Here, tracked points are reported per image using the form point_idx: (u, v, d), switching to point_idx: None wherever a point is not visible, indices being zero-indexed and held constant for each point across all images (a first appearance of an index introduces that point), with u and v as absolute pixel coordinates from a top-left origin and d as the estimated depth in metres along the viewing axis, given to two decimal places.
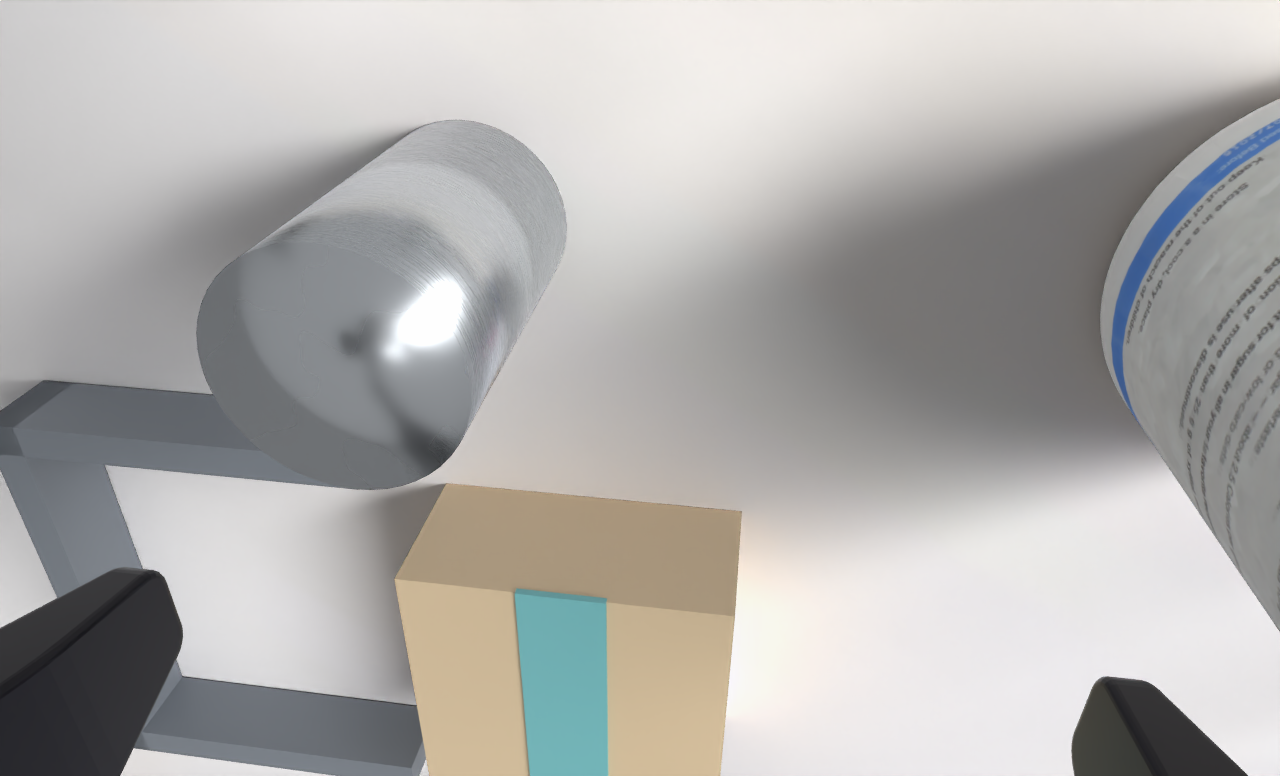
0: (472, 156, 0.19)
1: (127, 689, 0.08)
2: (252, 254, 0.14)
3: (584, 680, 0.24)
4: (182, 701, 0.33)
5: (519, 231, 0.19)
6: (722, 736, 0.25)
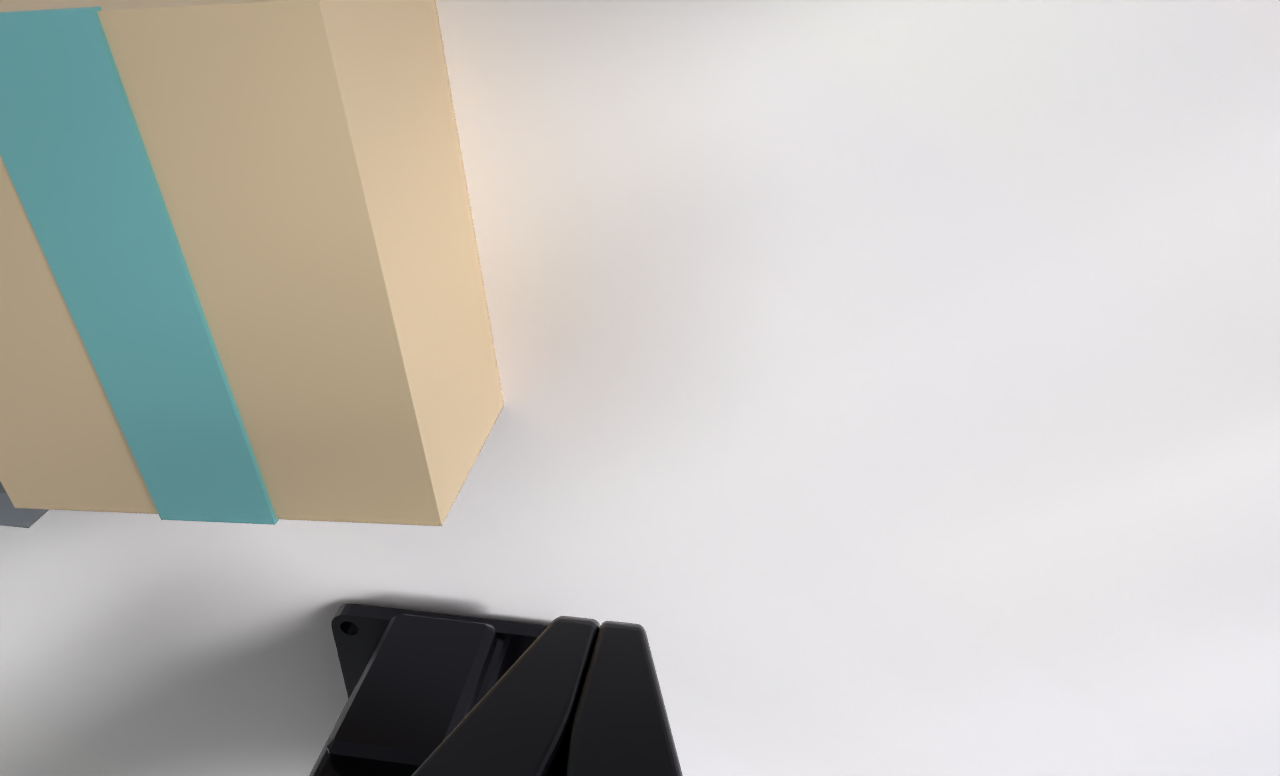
0: None
1: None
2: None
3: (128, 216, 0.14)
4: None
5: None
6: (390, 315, 0.14)
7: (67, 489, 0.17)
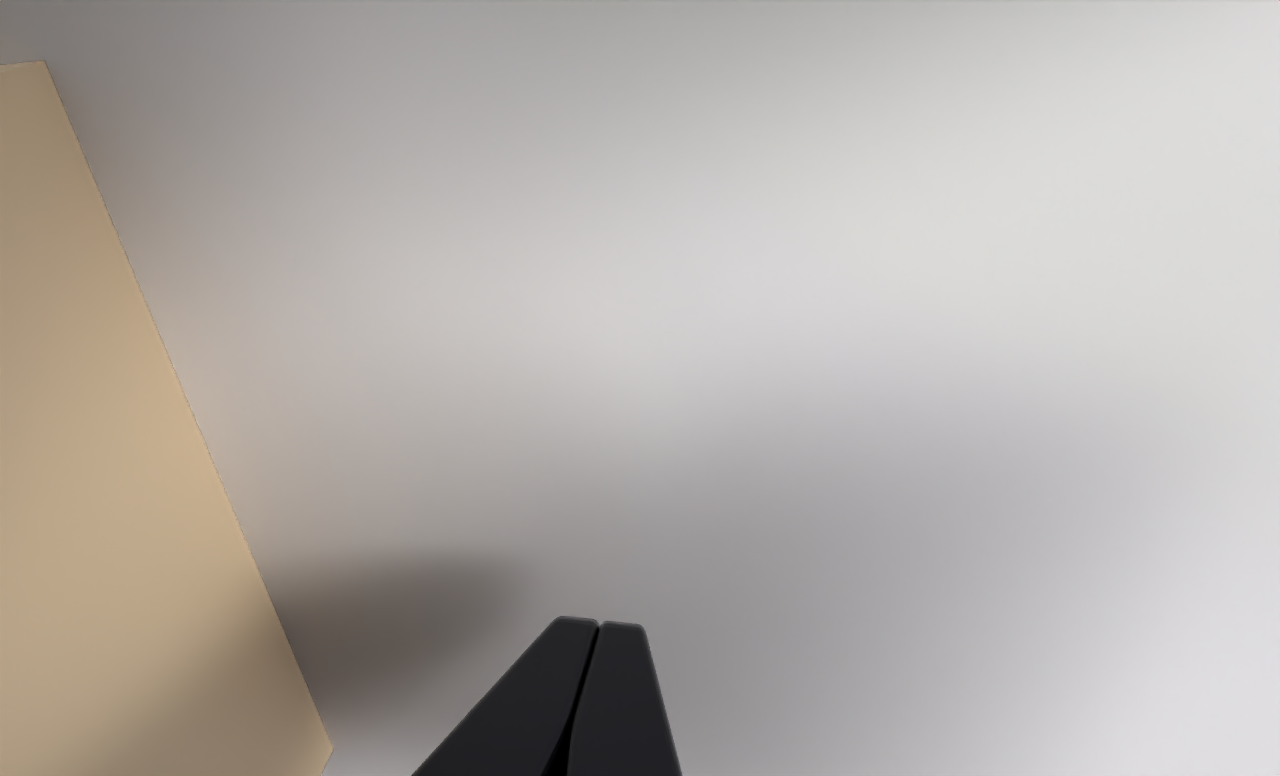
0: None
1: None
2: None
3: None
4: None
5: None
6: None
7: None
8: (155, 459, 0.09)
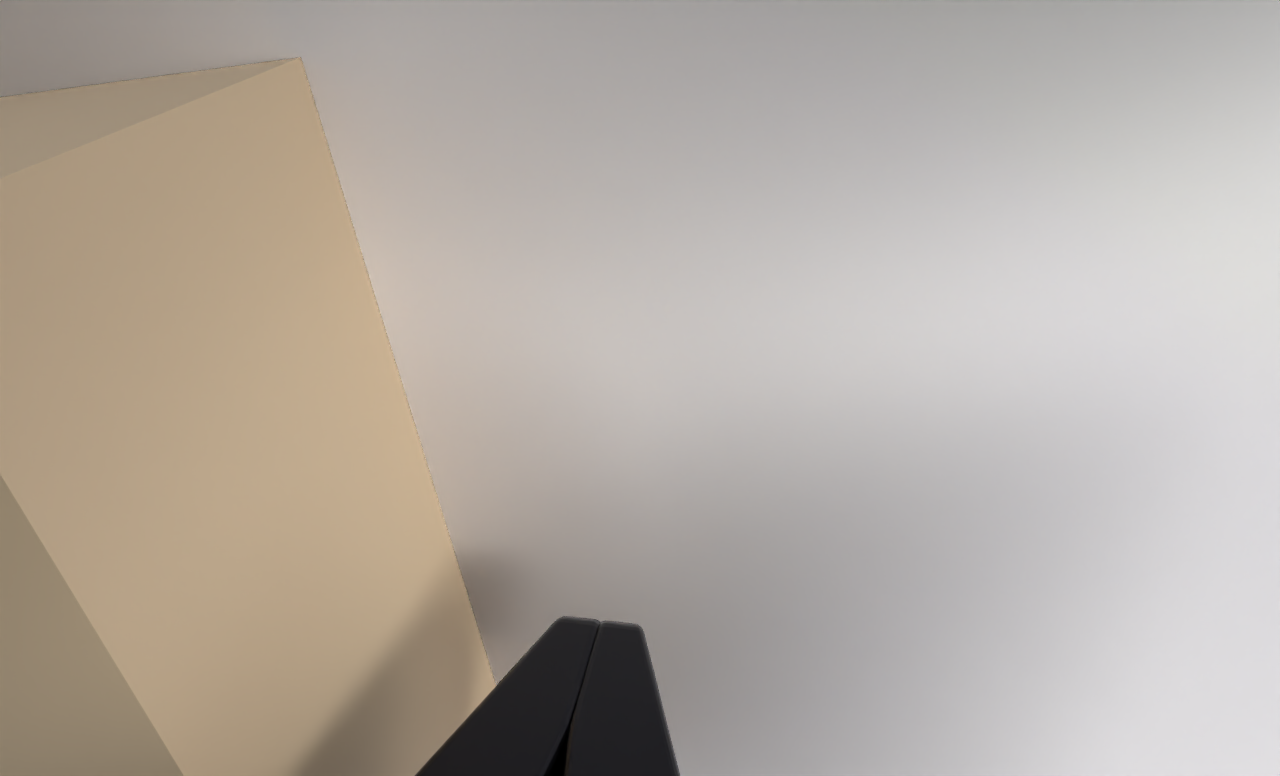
0: None
1: None
2: None
3: None
4: None
5: None
6: None
7: None
8: (395, 461, 0.09)
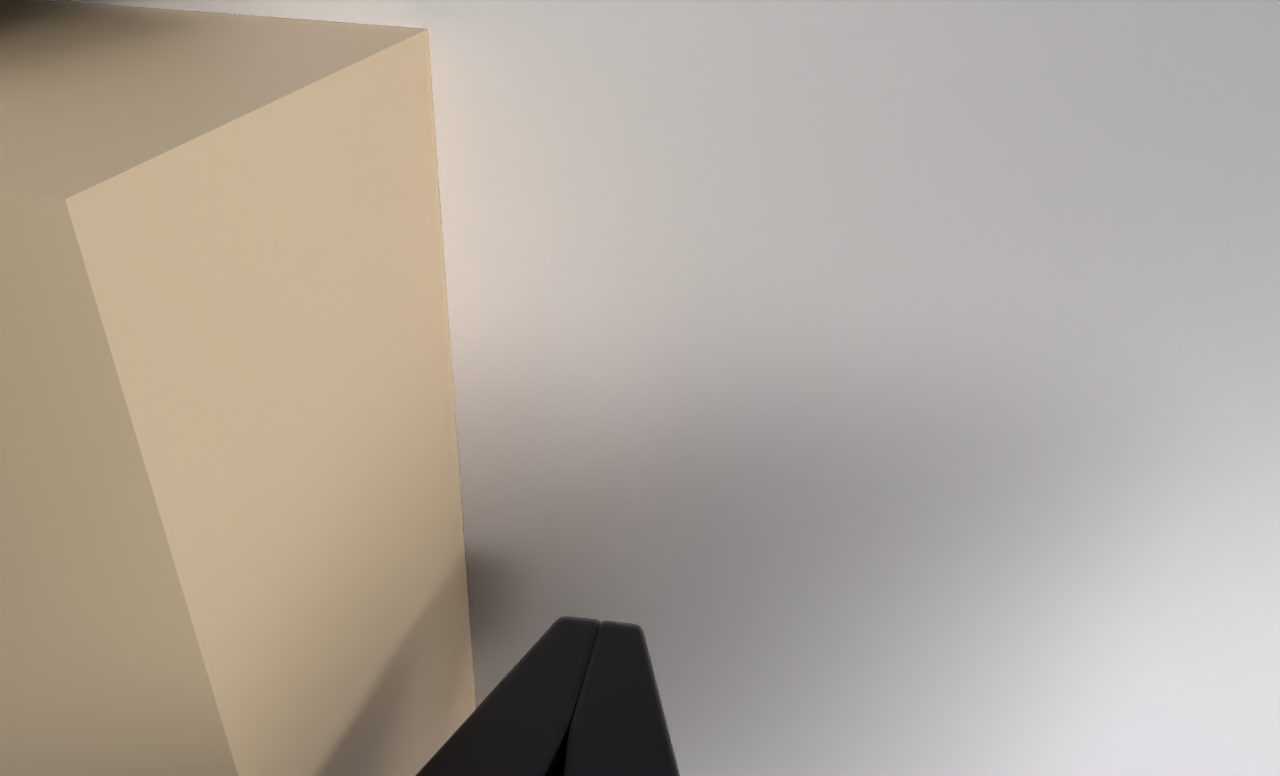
0: None
1: None
2: None
3: None
4: None
5: None
6: None
7: None
8: (432, 450, 0.08)
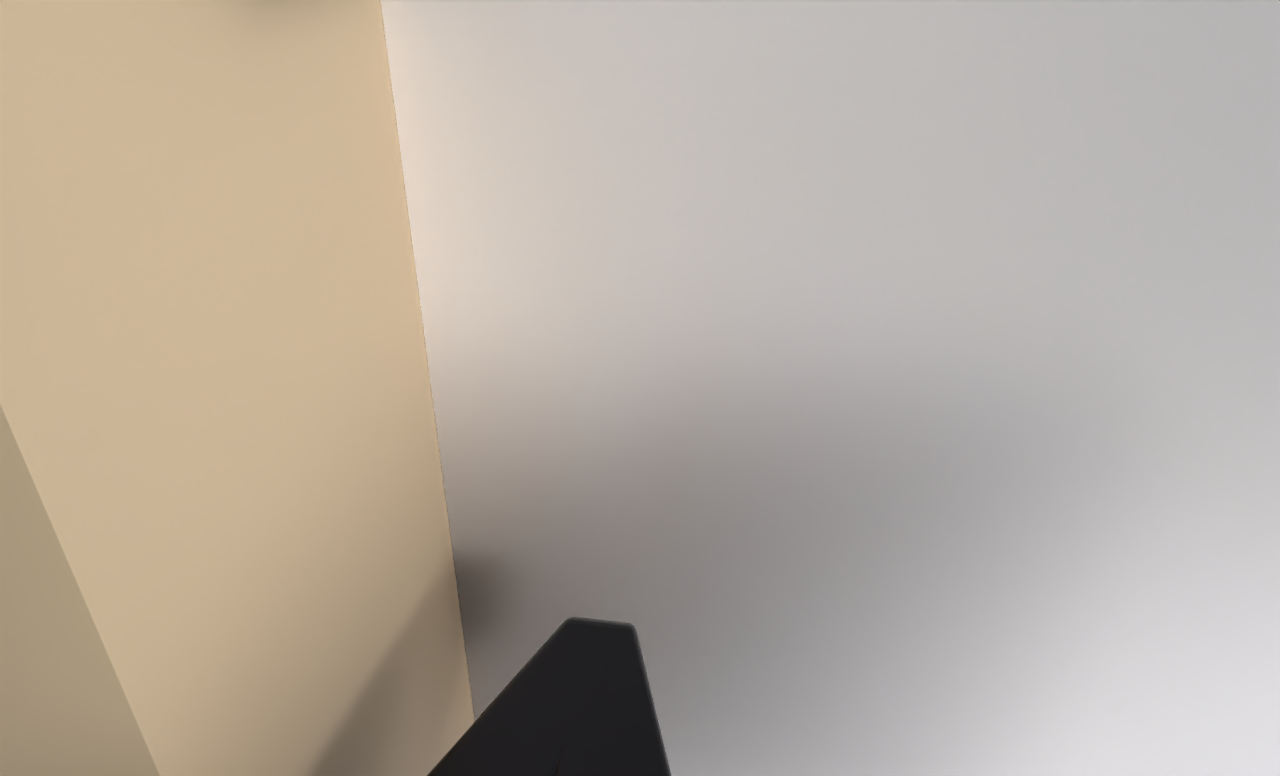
0: None
1: None
2: None
3: None
4: None
5: None
6: None
7: None
8: (390, 406, 0.08)
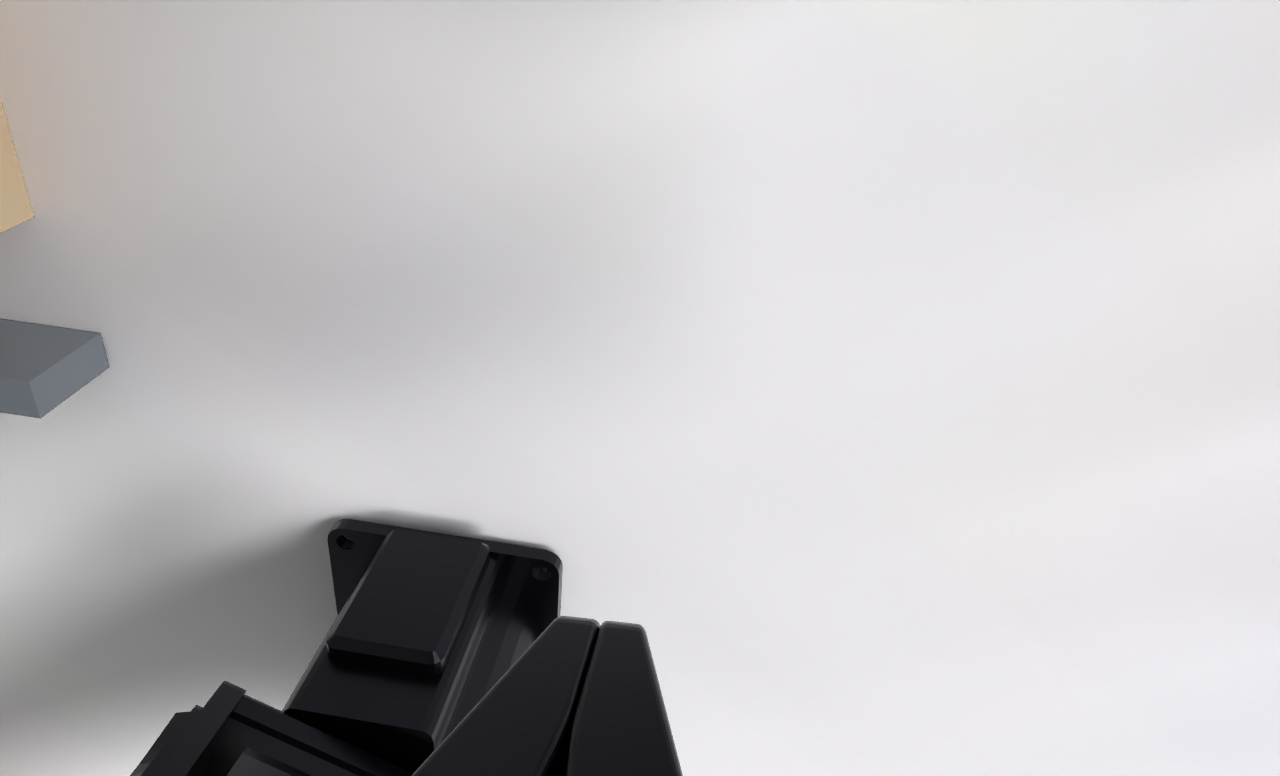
0: None
1: None
2: None
3: None
4: None
5: None
6: None
7: None
8: None
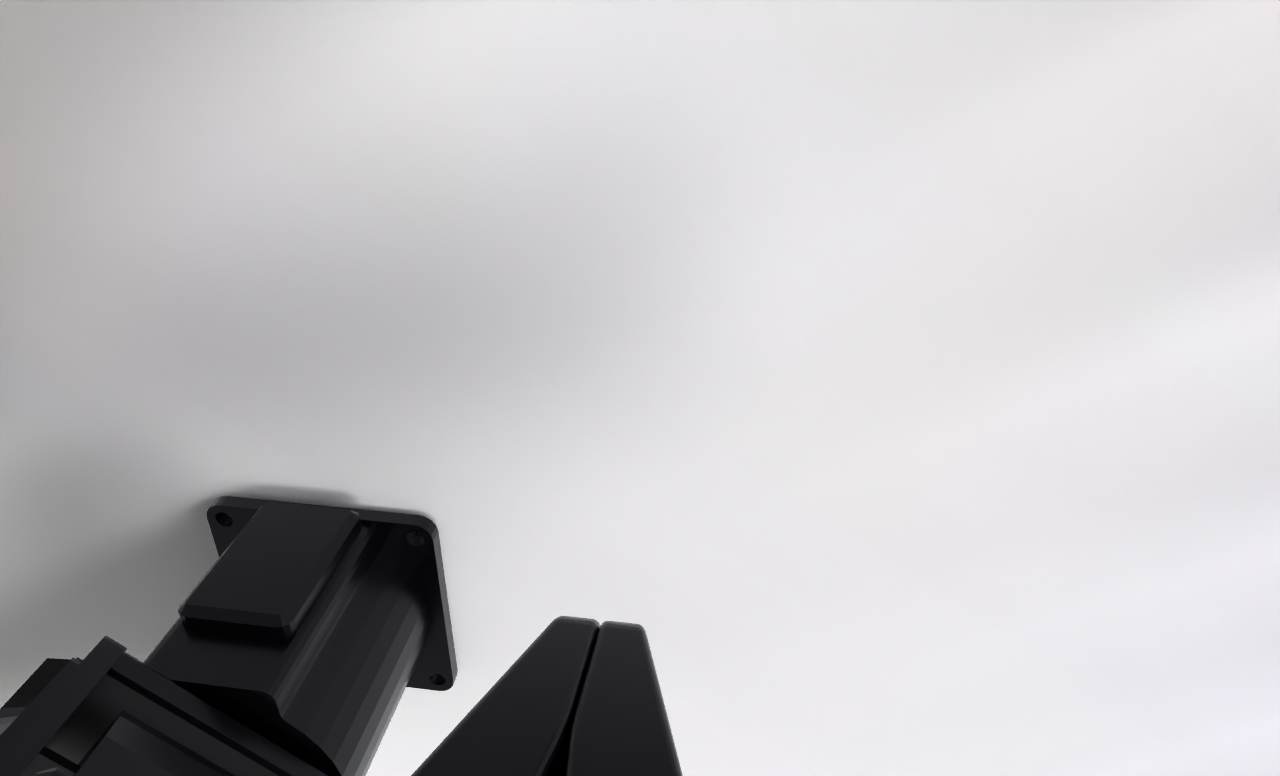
0: None
1: None
2: None
3: None
4: None
5: None
6: None
7: None
8: None
